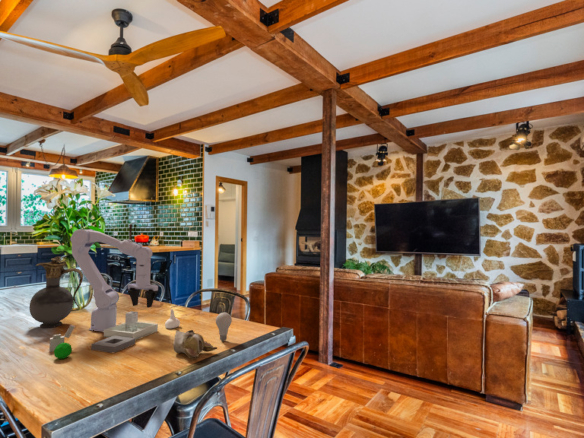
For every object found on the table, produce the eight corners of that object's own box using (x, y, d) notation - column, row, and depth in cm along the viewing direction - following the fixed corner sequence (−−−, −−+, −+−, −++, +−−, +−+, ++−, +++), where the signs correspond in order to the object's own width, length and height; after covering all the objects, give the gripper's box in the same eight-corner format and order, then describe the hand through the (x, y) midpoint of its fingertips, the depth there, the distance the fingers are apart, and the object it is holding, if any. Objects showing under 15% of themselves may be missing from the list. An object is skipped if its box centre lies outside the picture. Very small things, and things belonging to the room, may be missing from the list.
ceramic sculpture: (187, 322, 124) (219, 330, 117) (186, 345, 124) (218, 355, 117) (164, 329, 114) (198, 339, 107) (163, 355, 114) (196, 366, 107)
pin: (124, 333, 135) (125, 313, 136) (130, 330, 138) (131, 311, 139) (131, 333, 134) (132, 313, 135) (137, 331, 138) (137, 311, 138)
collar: (91, 349, 119) (91, 343, 119) (113, 340, 128) (114, 335, 128) (113, 353, 116) (113, 347, 116) (135, 343, 125) (135, 338, 125)
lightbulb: (234, 339, 132) (234, 311, 132) (226, 344, 126) (226, 315, 126) (220, 337, 134) (221, 310, 134) (212, 342, 128) (212, 313, 128)
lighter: (49, 351, 116) (50, 328, 116) (49, 350, 117) (50, 327, 117) (74, 347, 120) (74, 325, 120) (73, 346, 122) (74, 324, 122)
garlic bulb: (174, 330, 144) (175, 311, 144) (162, 328, 145) (162, 310, 145) (182, 326, 150) (182, 308, 150) (169, 325, 151) (170, 307, 151)
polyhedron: (68, 354, 114) (69, 339, 114) (74, 357, 111) (74, 343, 111) (51, 358, 110) (52, 343, 110) (56, 362, 107) (56, 347, 107)
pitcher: (27, 326, 145) (30, 256, 147) (79, 319, 158) (81, 255, 159) (29, 332, 137) (32, 258, 138) (83, 324, 150) (86, 256, 151)
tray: (103, 337, 132) (104, 329, 132) (130, 327, 145) (130, 320, 146) (132, 341, 128) (132, 333, 128) (157, 331, 141) (157, 323, 141)
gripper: (122, 274, 144) (121, 306, 144) (150, 276, 140) (149, 309, 139) (135, 273, 151) (134, 303, 150) (161, 274, 146) (160, 306, 146)
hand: (142, 306), depth 145 cm, fingers open, 7 cm apart
